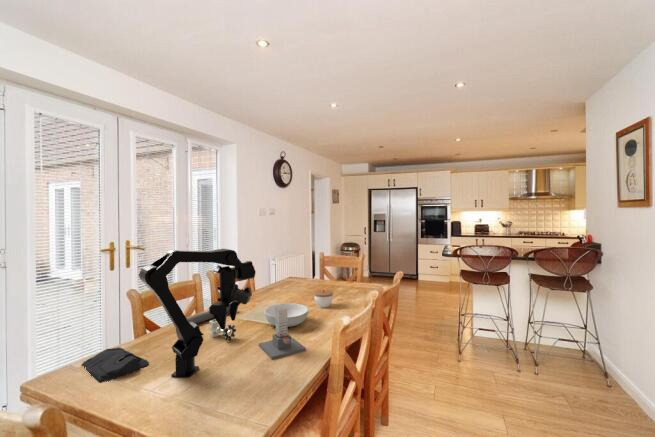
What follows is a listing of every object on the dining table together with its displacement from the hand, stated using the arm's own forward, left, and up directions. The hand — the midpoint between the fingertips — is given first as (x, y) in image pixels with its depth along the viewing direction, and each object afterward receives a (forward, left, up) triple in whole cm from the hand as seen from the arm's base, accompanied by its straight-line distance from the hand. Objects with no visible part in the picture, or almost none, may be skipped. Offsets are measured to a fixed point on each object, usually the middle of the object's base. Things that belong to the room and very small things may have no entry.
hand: (228, 324), depth 117 cm
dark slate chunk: (-9, +38, -13) cm, 41 cm away
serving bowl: (+36, -14, -12) cm, 41 cm away
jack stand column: (+9, -18, -7) cm, 21 cm away
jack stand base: (+9, -18, -12) cm, 23 cm away
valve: (+18, +11, -12) cm, 24 cm away
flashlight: (+40, +26, -13) cm, 49 cm away
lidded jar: (+65, -29, -12) cm, 72 cm away
